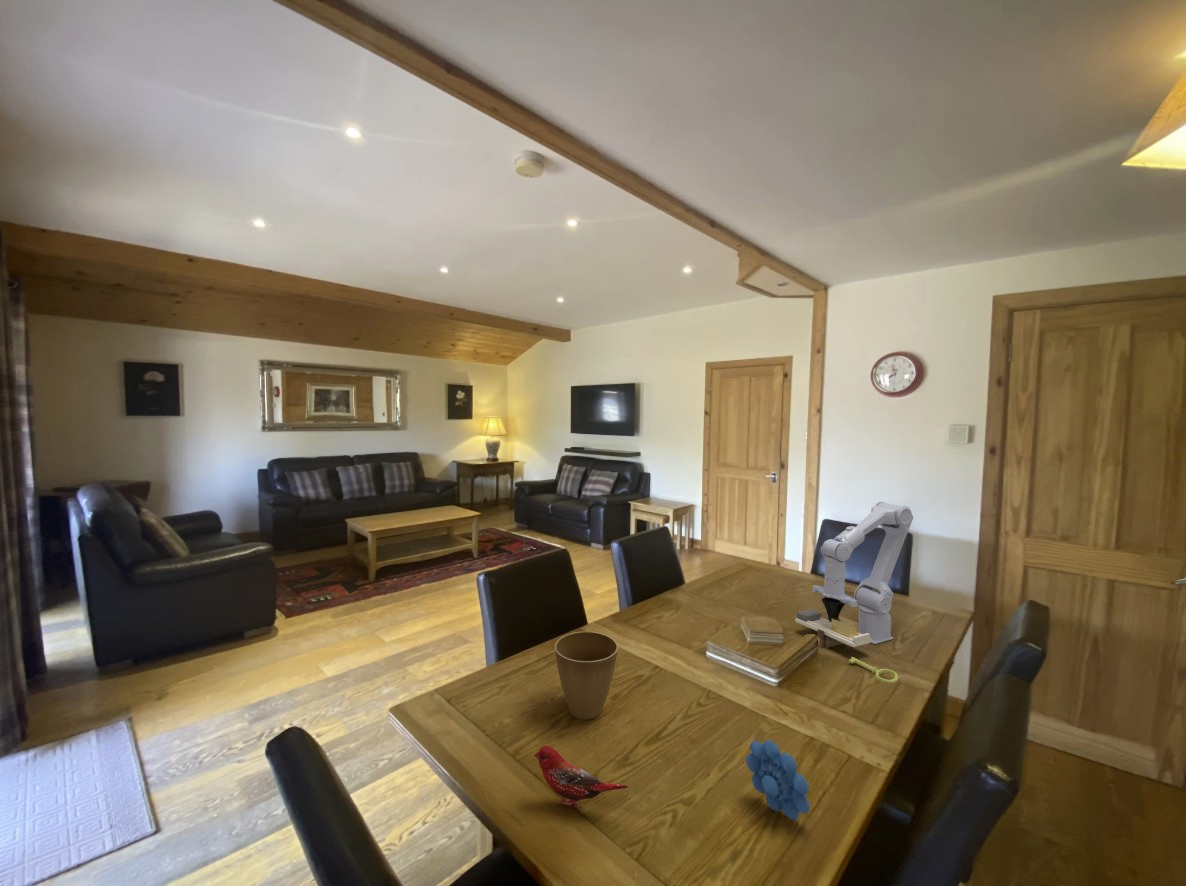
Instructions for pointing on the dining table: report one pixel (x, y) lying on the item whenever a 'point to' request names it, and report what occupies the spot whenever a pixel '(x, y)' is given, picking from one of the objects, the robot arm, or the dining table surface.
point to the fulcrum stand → (827, 640)
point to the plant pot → (586, 671)
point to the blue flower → (778, 779)
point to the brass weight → (845, 627)
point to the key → (876, 671)
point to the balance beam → (829, 628)
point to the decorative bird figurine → (570, 778)
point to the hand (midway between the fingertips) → (832, 621)
